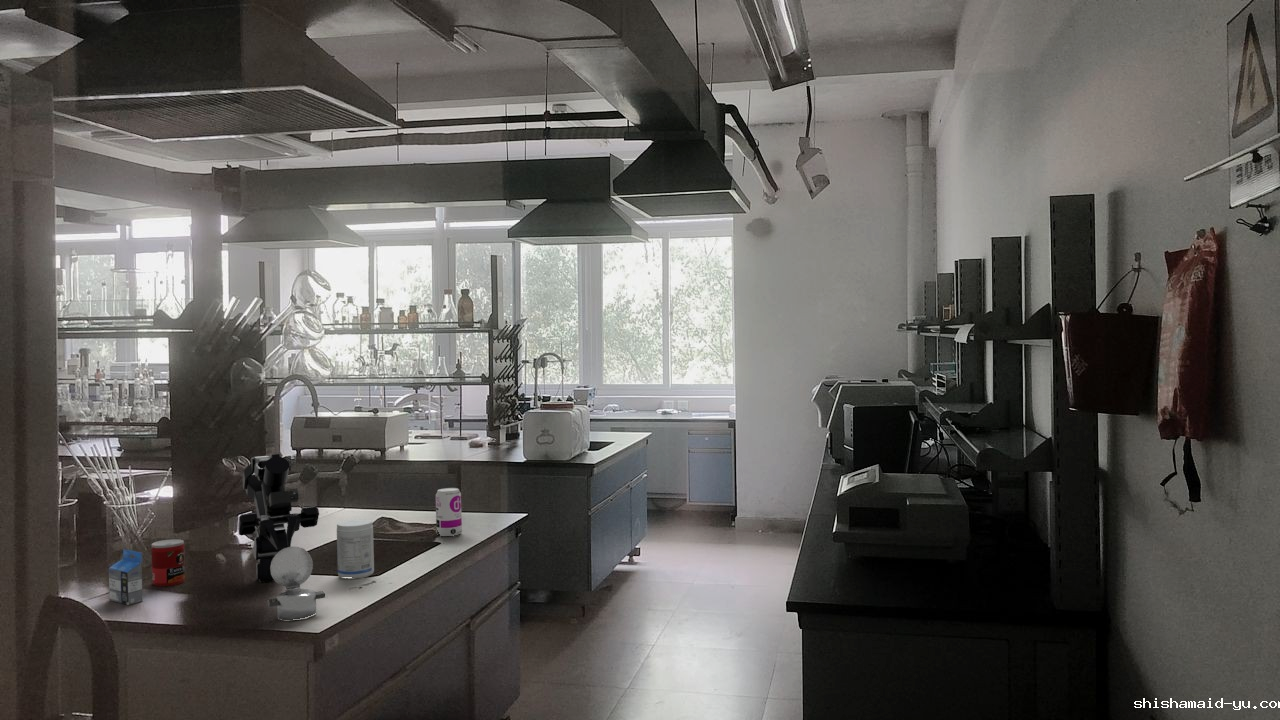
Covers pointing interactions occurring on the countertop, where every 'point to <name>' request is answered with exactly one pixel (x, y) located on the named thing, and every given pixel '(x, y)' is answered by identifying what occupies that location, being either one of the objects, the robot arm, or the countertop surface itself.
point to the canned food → (168, 562)
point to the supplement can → (448, 511)
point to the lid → (291, 567)
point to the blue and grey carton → (126, 579)
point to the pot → (296, 603)
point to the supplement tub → (355, 548)
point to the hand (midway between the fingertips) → (283, 547)
